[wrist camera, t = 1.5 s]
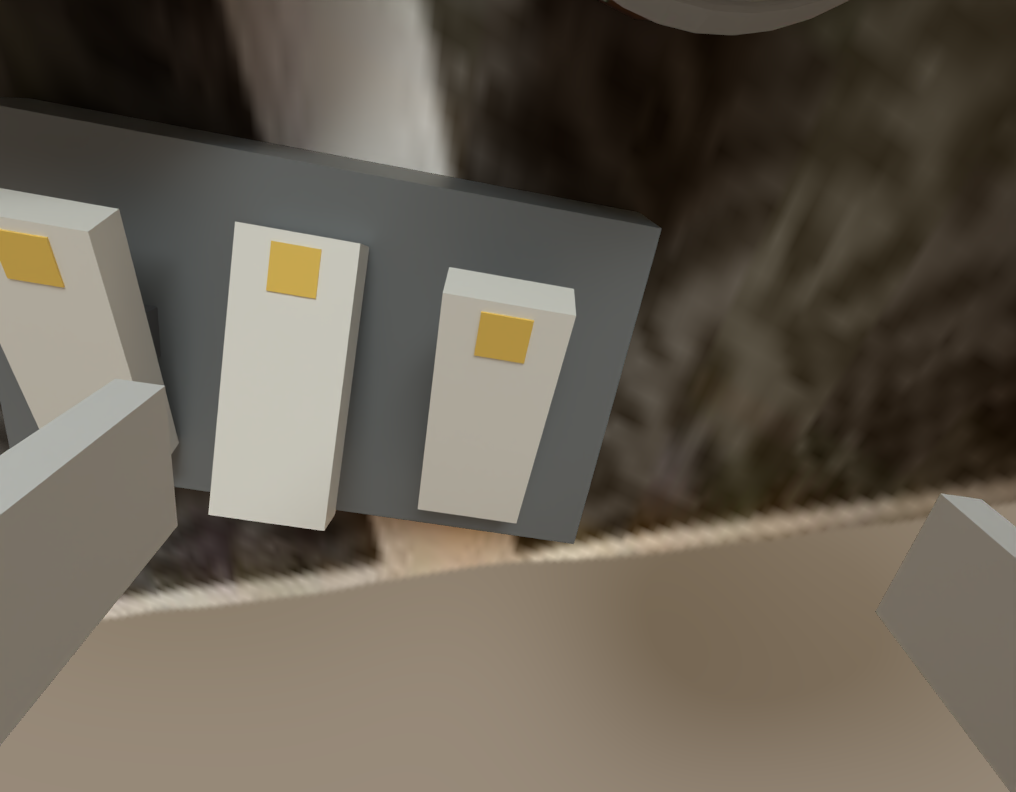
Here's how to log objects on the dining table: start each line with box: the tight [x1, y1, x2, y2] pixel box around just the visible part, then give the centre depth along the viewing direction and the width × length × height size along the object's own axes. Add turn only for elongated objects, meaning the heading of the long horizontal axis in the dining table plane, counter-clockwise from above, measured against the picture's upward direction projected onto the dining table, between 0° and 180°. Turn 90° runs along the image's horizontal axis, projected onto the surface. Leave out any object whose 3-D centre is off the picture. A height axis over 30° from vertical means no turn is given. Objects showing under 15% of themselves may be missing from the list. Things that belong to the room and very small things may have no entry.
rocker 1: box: [0, 188, 179, 454], centre depth 20 cm, size 10×4×2 cm, turn 170°
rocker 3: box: [418, 267, 576, 523], centre depth 21 cm, size 10×4×2 cm, turn 170°
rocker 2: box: [208, 222, 369, 531], centre depth 21 cm, size 10×4×2 cm, turn 170°
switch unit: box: [0, 97, 662, 544], centre depth 24 cm, size 14×24×5 cm, turn 80°
